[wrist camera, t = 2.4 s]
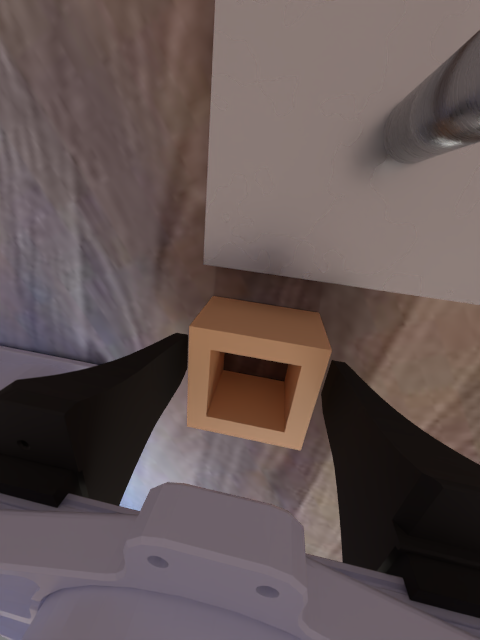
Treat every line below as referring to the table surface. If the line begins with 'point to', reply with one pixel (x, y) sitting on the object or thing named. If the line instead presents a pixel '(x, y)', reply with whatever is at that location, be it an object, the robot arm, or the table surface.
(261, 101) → the plate
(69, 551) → the robot arm
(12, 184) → the table surface
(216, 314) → the ring
